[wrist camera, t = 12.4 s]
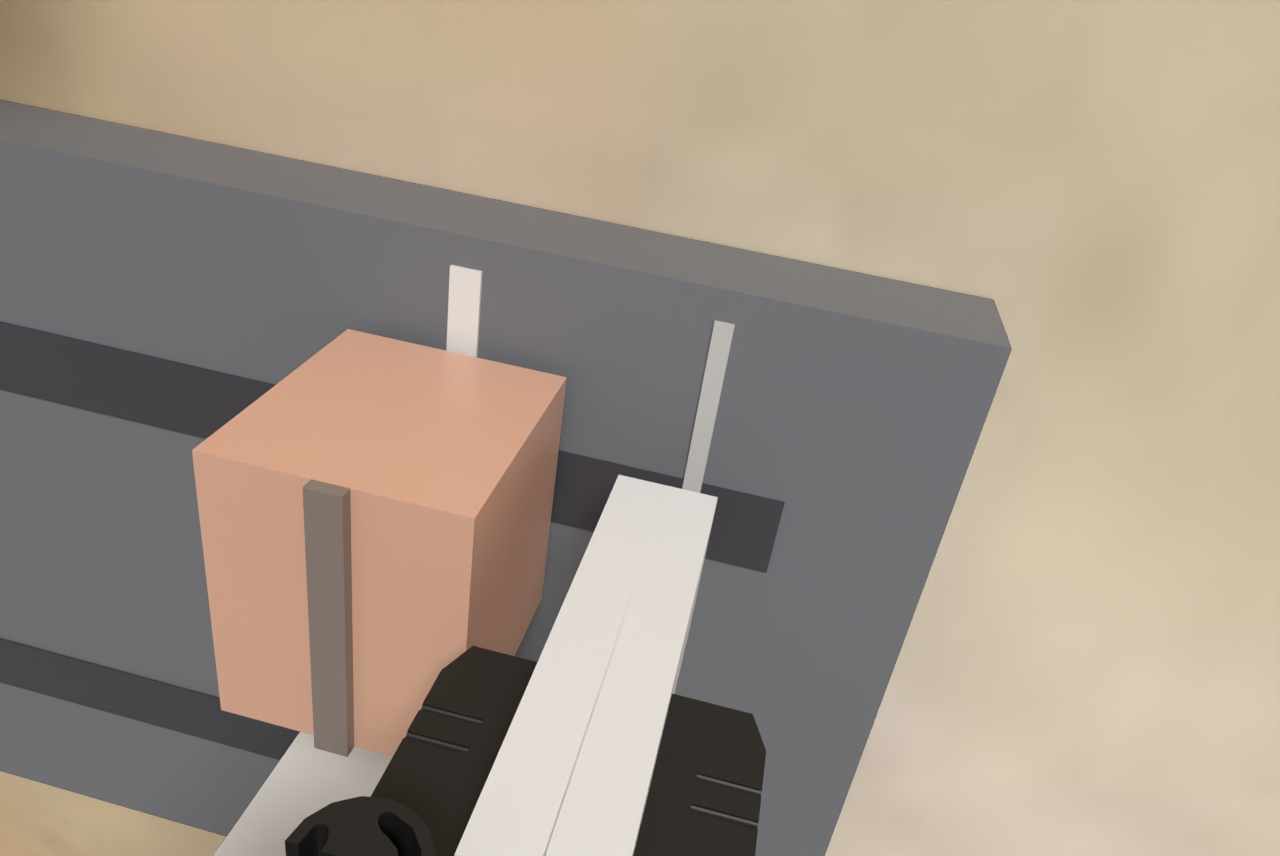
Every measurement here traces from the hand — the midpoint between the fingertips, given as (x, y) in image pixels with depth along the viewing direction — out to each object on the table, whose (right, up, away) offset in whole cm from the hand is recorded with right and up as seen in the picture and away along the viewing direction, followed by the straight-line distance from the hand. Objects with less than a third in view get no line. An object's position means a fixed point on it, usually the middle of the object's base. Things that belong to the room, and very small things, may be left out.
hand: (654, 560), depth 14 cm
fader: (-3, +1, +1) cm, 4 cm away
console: (-11, +1, +6) cm, 13 cm away
